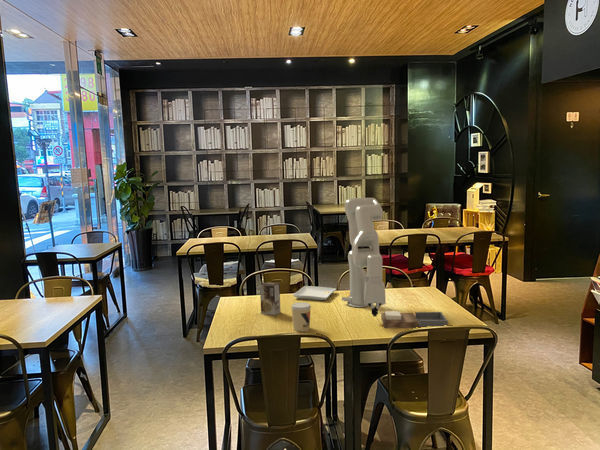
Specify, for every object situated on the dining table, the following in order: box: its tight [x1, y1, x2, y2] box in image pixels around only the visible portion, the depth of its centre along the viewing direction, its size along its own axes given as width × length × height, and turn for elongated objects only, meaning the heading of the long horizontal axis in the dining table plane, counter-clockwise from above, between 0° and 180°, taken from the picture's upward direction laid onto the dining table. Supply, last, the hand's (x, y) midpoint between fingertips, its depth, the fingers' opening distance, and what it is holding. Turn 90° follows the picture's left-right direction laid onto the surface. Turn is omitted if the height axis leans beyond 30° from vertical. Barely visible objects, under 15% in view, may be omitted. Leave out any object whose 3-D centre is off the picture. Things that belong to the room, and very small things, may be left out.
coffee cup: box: [291, 301, 312, 332], centre depth 231 cm, size 9×9×12 cm
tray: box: [414, 311, 449, 328], centre depth 235 cm, size 14×14×4 cm
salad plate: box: [292, 285, 337, 301], centre depth 288 cm, size 21×21×3 cm
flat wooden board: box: [380, 312, 419, 329], centre depth 236 cm, size 16×14×3 cm
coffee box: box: [259, 281, 281, 316], centre depth 256 cm, size 9×6×16 cm
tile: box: [384, 310, 401, 320], centre depth 236 cm, size 7×7×2 cm
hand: (374, 315), depth 236 cm, fingers closed
